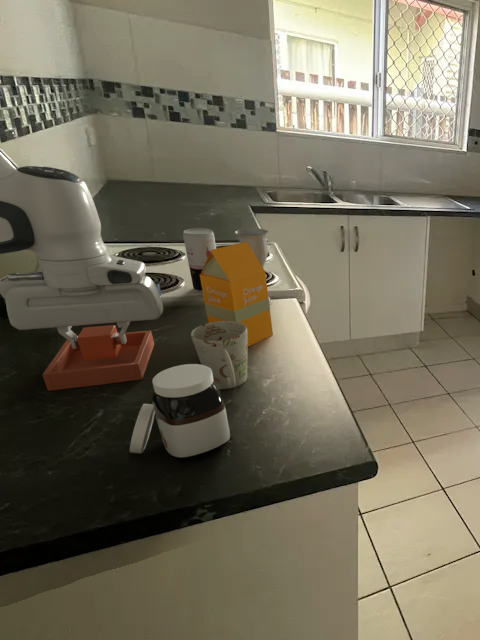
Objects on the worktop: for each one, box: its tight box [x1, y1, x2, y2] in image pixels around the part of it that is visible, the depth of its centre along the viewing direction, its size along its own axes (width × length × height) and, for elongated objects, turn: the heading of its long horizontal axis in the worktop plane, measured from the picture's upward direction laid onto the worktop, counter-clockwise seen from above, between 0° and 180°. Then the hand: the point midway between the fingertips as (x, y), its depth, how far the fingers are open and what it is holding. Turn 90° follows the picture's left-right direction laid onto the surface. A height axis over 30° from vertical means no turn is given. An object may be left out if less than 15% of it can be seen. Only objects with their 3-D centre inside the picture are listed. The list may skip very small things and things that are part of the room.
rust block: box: [77, 324, 121, 361], centre depth 84 cm, size 4×4×4 cm
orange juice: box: [200, 242, 274, 348], centre depth 96 cm, size 8×9×20 cm
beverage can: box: [182, 227, 217, 293], centre depth 121 cm, size 7×7×15 cm
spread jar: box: [129, 363, 231, 461], centre depth 66 cm, size 12×11×12 cm
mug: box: [190, 321, 248, 390], centre depth 82 cm, size 8×13×10 cm, turn 40°
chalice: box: [235, 227, 273, 306], centre depth 114 cm, size 7×7×18 cm
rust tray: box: [41, 330, 155, 392], centre depth 85 cm, size 13×15×3 cm
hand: (101, 345), depth 84 cm, fingers closed on rust block, 4 cm apart
